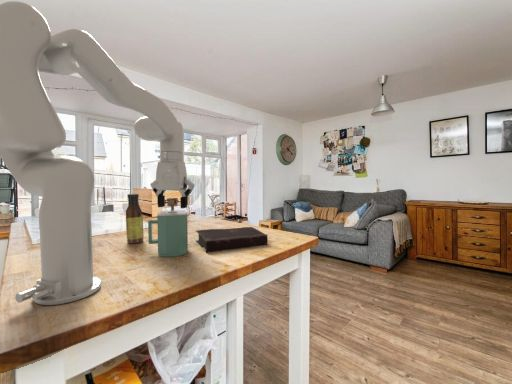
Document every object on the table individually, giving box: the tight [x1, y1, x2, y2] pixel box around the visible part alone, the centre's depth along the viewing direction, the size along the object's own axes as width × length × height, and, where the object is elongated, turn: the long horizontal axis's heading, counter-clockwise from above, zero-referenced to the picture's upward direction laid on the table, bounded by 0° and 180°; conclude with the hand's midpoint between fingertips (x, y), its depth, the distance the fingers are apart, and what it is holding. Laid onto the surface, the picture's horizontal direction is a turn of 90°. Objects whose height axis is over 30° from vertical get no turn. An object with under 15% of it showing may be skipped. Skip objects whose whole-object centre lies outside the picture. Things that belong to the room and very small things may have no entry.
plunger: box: [166, 197, 178, 213], centre depth 88 cm, size 7×7×15 cm
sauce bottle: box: [125, 193, 144, 244], centre depth 102 cm, size 6×6×20 cm
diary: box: [195, 226, 269, 253], centre depth 102 cm, size 19×25×5 cm
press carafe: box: [147, 209, 189, 258], centre depth 88 cm, size 10×13×14 cm
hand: (172, 207), depth 88 cm, fingers open, 8 cm apart
